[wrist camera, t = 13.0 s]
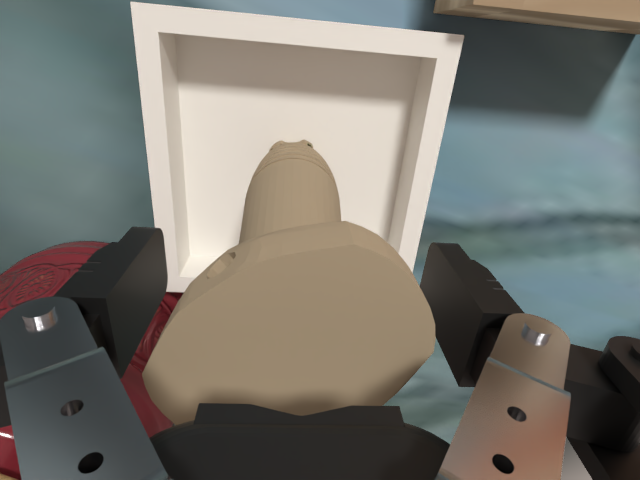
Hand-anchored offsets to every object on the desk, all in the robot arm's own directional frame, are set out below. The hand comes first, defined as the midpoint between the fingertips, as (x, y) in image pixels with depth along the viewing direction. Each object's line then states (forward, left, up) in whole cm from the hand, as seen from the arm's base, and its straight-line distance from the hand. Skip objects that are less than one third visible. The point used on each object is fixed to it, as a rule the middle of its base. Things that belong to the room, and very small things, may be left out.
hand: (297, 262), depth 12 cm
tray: (0, 0, -12) cm, 12 cm away
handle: (0, 0, -11) cm, 11 cm away
